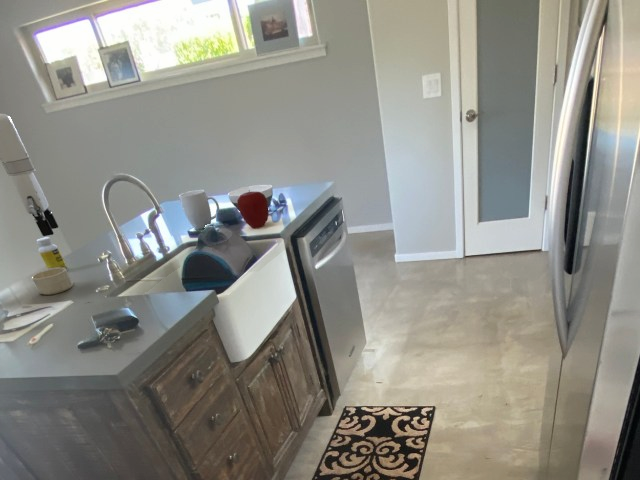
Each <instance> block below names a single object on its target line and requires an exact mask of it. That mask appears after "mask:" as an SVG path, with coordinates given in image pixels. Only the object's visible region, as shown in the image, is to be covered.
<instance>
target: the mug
mask: <svg viewBox="0 0 640 480" xmlns="http://www.w3.org/2000/svg"><path fill="white" fill-rule="evenodd" d="M178 199H179V201H180V204H181V207H182V209H183V212H184V215H185V218H186V220H187V221H188V222H189V224H190V225H191V226H192V227H193V228H194V229H195V230H203V229H202V228H204V227H205V225H207V224H211V225H212V221H213V220H214V219H216V218H217V217H216V213H215V214H214V215H213V216H212V211H211V207H210V203H209V200H212V201H213V202H214V203H215V206H216V212H217V211H218V210H219V211H220V205H219V203H218V201H217V199H216V198H214V197H213V196H210V195H207V193H206V190H205V189H195V190H190V191H186V192H182V193H180V194H179V195H178ZM204 229H205V228H204Z"/></svg>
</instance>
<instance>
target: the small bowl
mask: <svg viewBox="0 0 640 480" xmlns="http://www.w3.org/2000/svg"><path fill="white" fill-rule="evenodd" d="M30 279H31V281H32V283H33V285H34V287H35V288H36V290H37V292H38V293H39V294H40V295H44V296H50V295H52V296H53V295H56V294H60V293H63V292H65V291H67V290H68V291H69V289H71V288H72V286H73V285H74V281H73V279H72V277H71V275H70V274H69V272H68V270H66V268H53V269H48V268H47V269H45V270H42V271H39V272H37V273H35V274H33V275H31V277H30Z"/></svg>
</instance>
